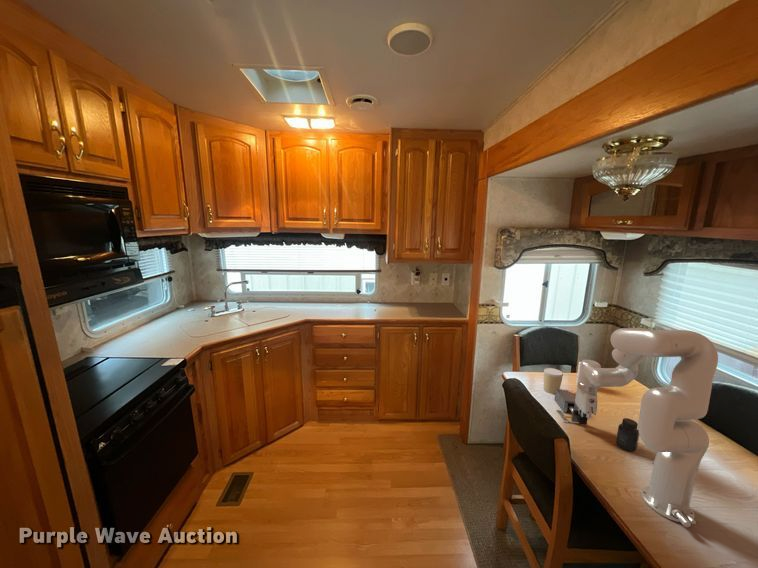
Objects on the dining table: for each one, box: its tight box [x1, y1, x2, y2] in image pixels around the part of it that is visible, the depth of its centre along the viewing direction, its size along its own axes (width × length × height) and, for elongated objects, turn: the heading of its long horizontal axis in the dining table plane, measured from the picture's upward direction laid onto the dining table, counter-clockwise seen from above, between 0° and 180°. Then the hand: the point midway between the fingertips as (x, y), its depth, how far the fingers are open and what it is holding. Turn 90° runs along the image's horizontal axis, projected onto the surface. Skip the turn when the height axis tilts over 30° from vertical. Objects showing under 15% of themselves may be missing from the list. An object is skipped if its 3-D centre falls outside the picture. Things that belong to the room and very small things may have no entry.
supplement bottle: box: [615, 417, 640, 453], centre depth 121 cm, size 7×7×12 cm
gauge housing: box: [554, 389, 578, 424], centre depth 146 cm, size 20×9×6 cm, turn 169°
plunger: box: [564, 403, 579, 423], centre depth 142 cm, size 11×8×6 cm
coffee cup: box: [543, 367, 564, 395], centre depth 164 cm, size 9×9×12 cm
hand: (581, 423), depth 133 cm, fingers closed
